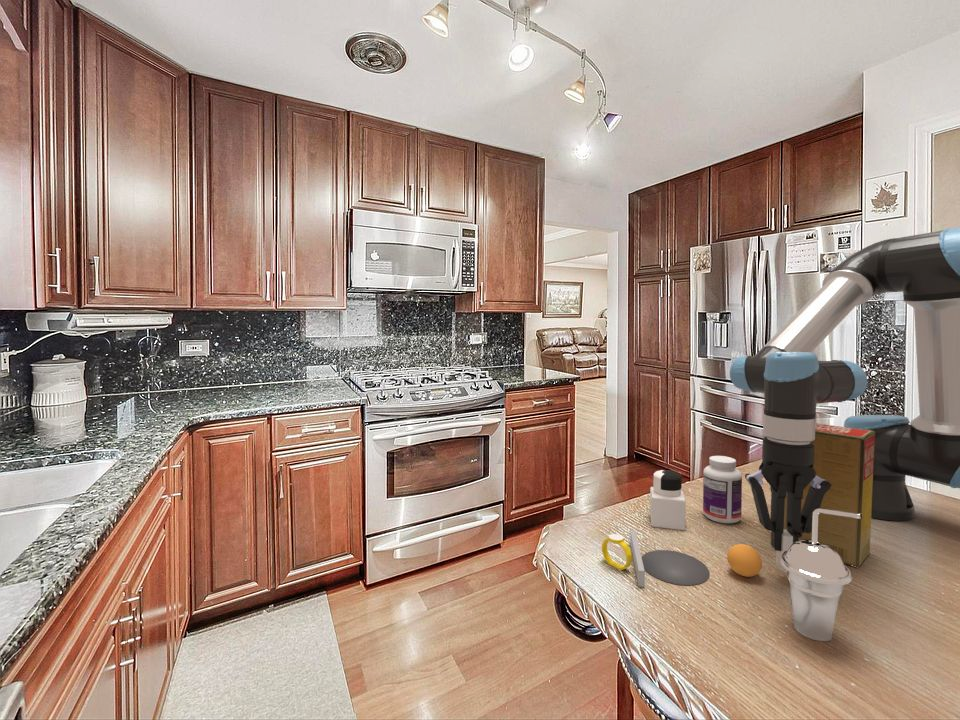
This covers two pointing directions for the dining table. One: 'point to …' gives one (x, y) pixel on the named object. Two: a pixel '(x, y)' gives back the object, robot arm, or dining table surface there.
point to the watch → (620, 540)
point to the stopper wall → (637, 559)
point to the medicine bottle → (667, 501)
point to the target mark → (675, 567)
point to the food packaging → (844, 489)
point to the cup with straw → (815, 581)
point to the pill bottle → (722, 490)
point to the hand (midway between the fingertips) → (783, 567)
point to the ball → (744, 560)
